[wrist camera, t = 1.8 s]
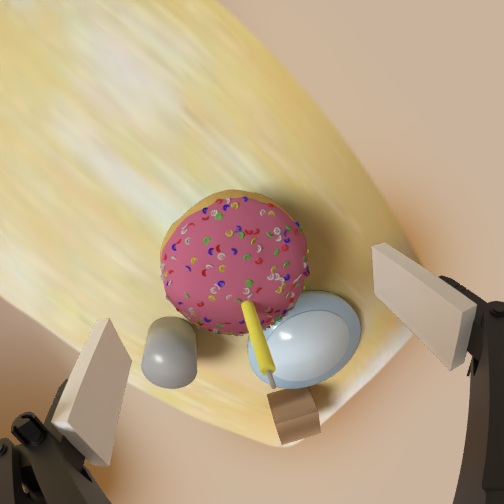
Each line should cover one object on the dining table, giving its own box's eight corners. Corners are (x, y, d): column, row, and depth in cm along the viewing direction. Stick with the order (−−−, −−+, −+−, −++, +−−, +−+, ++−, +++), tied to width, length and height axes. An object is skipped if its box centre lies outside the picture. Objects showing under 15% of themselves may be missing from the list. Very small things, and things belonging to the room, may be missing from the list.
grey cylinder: (140, 322, 23) (132, 354, 19) (187, 311, 23) (185, 342, 19) (158, 359, 24) (154, 392, 21) (202, 349, 24) (204, 382, 21)
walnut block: (266, 393, 28) (275, 424, 24) (305, 382, 28) (318, 411, 24) (273, 415, 29) (281, 444, 25) (309, 405, 29) (320, 432, 26)
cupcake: (301, 271, 23) (376, 378, 12) (197, 311, 23) (201, 442, 12) (265, 163, 20) (343, 195, 9) (148, 210, 20) (89, 295, 9)
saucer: (234, 310, 24) (235, 319, 22) (353, 275, 24) (359, 281, 23) (260, 392, 27) (262, 401, 26) (357, 361, 28) (362, 368, 27)
